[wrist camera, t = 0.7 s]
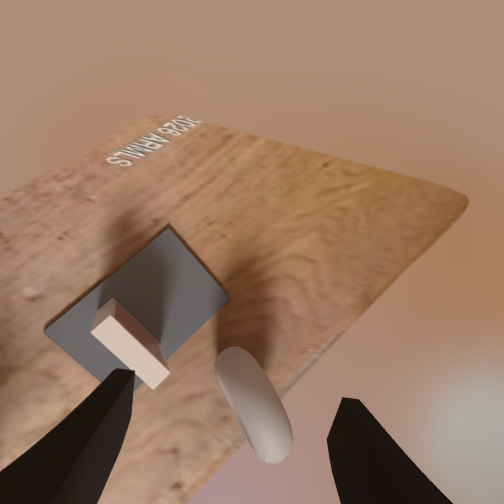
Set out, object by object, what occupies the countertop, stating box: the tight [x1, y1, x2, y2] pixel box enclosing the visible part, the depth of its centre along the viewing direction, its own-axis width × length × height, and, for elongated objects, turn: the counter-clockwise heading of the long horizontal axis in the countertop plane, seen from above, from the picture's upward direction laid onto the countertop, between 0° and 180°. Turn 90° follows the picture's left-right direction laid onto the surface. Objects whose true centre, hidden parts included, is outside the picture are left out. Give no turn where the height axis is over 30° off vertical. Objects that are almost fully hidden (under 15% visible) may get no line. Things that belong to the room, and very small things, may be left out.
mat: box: [43, 228, 230, 392], centre depth 29 cm, size 13×9×1 cm
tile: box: [90, 298, 170, 390], centre depth 25 cm, size 2×6×6 cm, turn 40°
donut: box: [215, 346, 293, 464], centre depth 28 cm, size 10×4×10 cm, turn 20°
